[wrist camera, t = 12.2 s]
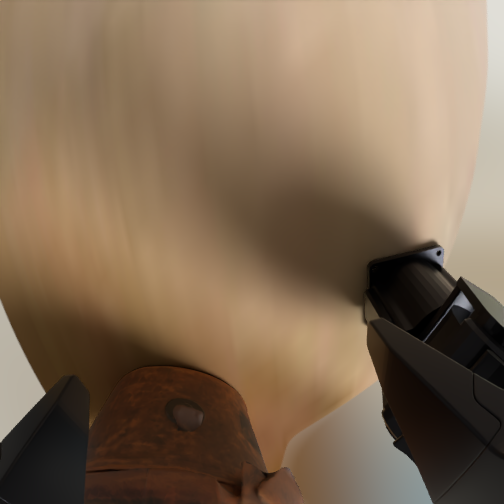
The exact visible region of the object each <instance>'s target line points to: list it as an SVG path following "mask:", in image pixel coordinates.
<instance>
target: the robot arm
mask: <svg viewBox="0 0 504 504" xmlns="http://www.w3.org/2000/svg"><path fill="white" fill-rule="evenodd" d="M438 250H439V252H438V253H437V251H438ZM436 253H437V254H436ZM443 257H444V249H443V248H442V247H441V246H440V245H435V246H431V247H427V248H423V249H419V250H415V251H411V252H407V253H403V254H399V255H395V256H391V257H387V258H383V259H379V260H375V261H372V262H370V263H369V264H368V266H367V279H368V289H366V291H365V293H364V294H365V318H366V320H367V322H368V325H367V347H368V350H369V353H370V356H371V359H372V361H373V364H374V367H375V370H376V373H377V376H378V379H379V382H380V384H381V387H382V395H383V410H382V417H383V419H384V422H385V425H386V428H387V429H388V431H389V433H390V434H391V436H392V437H393V438H394V439H395V441H394V442H393V445H394V446H395V447H396V448H398V449H399V450H400V451H402V452H403V453H405V454H406V455H407V456H408V457H409V458H410V459H411V460H412V461H413V462H414V463H415V464H416V466H417V467H418V469H419V472H420V474H421V476H422V479H423V481H424V483H425V485H426V488H427V490H428V493H429V495H430V498H431V500H432V502H433V504H504V306H503V305H502V304H500V302H498V301H497V300H496V299H495V298H494V297H493V296H491V295H490V294H488V293H487V292H485V291H484V290H482V289H480V288H479V287H477V286H476V285H474V284H472V283H471V282H469V281H468V280H466V279H464V278H463V277H460V278H459V279H458V281H456V280H455V279H454V278H453V277H452V276H451V275H450V274H449V273H448V272H447V271H446V270H445V269H444V268H443ZM375 266H377V267H376V269H374V270H372V269H373V267H375ZM89 404H90V395H89V392H88V390H87V388H86V387H85V386H84V384H83V383H82V382H81V381H80V379H79V378H78V377H77V376H76V375H74V374H72V375H64V376H63V377H62V378H61V379H60V380H59V381H58V382H57V383H56V384H55V385H54V386H53V387H52V388H51V389H50V390H49V391H48V392H47V393H46V394H45V395H44V397H43V398H42V399H41V400H40V401H39V402H38V403H37V404H36V405H35V406H34V407H33V408H32V409H31V410H30V411H29V412H28V413H27V414H26V415H25V417H24V418H23V419H22V420H21V421H20V422H19V423H18V424H17V425H16V426H15V427H14V428H13V430H11V432H10V433H9V434H8V435H7V436H6V437H5V438H4V439H3V440H2V442H1V443H0V504H84V493H85V475H86V462H87V450H88V439H89Z"/></svg>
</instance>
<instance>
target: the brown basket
mask: <svg viewBox="0 0 504 504" xmlns="http://www.w3.org/2000/svg"><path fill="white" fill-rule="evenodd" d="M84 504H304V500H303V496H302V494H301V491H300V489H299V486H298V485H297V483H296V481H295V478H294V476H293V475H292V472H291V471H290V469H289V468H287V467H284V468H281V469H280V470H278V471H276V472H273V473H268V472H267V469H266V466H265V463H264V460H263V457H262V454H261V451H260V449H259V446H258V443H257V440H256V437H255V434H254V432H253V429H252V426H251V423H250V419H249V416H248V413H247V407H246V404H245V402H244V400H243V398H242V397H241V395H240V394H239V393H238V392H237V391H236V390H235V389H233V388H232V387H230V386H229V385H227V384H226V383H224V382H223V381H221V380H219V379H217V378H215V377H212V376H210V375H207V374H205V373H202V372H198V371H195V370H191V369H186V368H179V367H172V366H151V367H143V368H139V369H137V370H134V371H132V372H130V373H128V374H127V375H125V376H124V377H123V378H122V379H121V380H120V381H119V382H118V383H117V385H116V386H115V388H114V389H113V391H112V392H111V394H110V396H109V397H108V399H107V401H106V402H105V404H104V406H103V407H102V409H101V411H100V412H99V414H98V416H97V417H96V419H95V421H94V422H93V424H92V426H91V427H90V429H89V439H88V450H87V462H86V475H85V493H84Z"/></svg>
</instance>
